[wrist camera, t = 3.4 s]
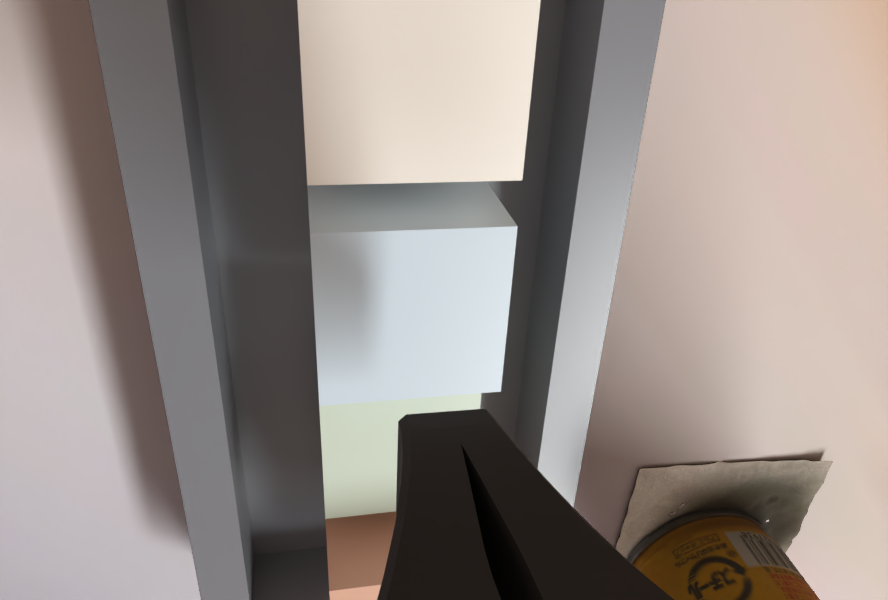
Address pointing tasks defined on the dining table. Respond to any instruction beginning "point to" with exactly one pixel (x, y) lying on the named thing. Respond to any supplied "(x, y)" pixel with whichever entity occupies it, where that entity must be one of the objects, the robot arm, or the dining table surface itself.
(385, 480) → the sage key
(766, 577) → the condiment
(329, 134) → the cream cube
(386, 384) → the pale blue cube
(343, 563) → the salmon orange cube
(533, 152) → the keypad base
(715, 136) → the dining table surface
